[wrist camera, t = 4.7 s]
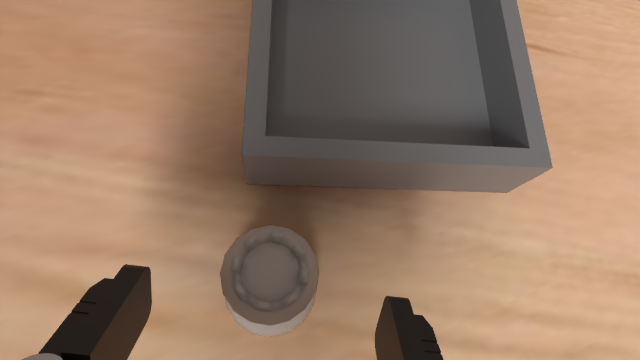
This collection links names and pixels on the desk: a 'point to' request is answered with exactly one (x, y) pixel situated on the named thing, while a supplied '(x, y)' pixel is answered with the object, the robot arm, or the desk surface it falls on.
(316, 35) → the tray
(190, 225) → the desk surface
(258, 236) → the rook chess piece
